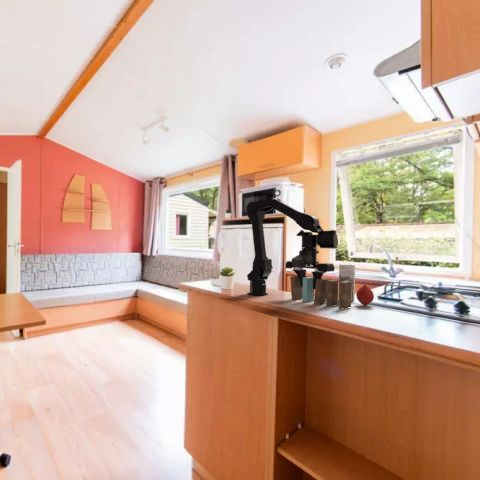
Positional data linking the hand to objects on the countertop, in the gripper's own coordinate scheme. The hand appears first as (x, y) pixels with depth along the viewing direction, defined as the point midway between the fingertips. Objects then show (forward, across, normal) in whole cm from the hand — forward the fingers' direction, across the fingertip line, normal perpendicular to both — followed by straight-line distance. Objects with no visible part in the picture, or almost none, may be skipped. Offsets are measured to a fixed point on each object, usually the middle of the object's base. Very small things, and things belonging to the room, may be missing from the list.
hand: (308, 288), depth 115 cm
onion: (+5, +18, +9) cm, 21 cm away
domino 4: (+5, +10, 0) cm, 11 cm away
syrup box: (+5, +8, +15) cm, 18 cm away
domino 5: (+5, +15, 0) cm, 16 cm away
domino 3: (+5, +5, 0) cm, 7 cm away
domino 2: (+5, 0, 0) cm, 5 cm away
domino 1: (+5, -5, 0) cm, 7 cm away
